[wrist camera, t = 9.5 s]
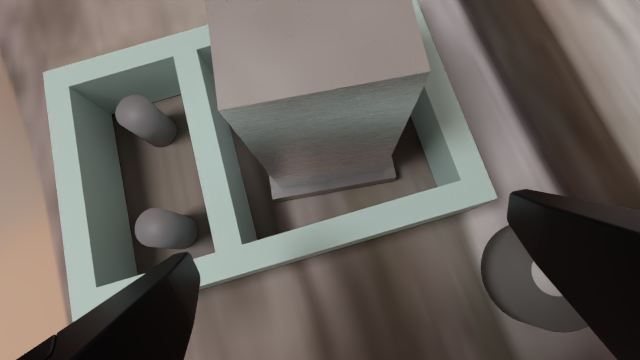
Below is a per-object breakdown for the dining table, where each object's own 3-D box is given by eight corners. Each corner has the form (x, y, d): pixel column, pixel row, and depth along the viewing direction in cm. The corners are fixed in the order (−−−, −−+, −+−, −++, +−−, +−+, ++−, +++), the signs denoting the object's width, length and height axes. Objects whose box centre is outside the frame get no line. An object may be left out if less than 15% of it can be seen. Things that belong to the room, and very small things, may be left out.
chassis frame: (470, 209, 19) (497, 198, 16) (120, 313, 19) (72, 323, 16) (393, 13, 22) (403, -32, 19) (89, 102, 22) (42, 72, 19)
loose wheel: (601, 307, 18) (635, 313, 16) (504, 337, 18) (525, 347, 16) (557, 210, 19) (584, 203, 17) (465, 238, 19) (481, 235, 17)
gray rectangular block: (393, 181, 20) (455, 85, 9) (275, 202, 20) (200, 132, 9) (369, 74, 21) (398, -117, 11) (260, 94, 21) (179, -74, 11)
